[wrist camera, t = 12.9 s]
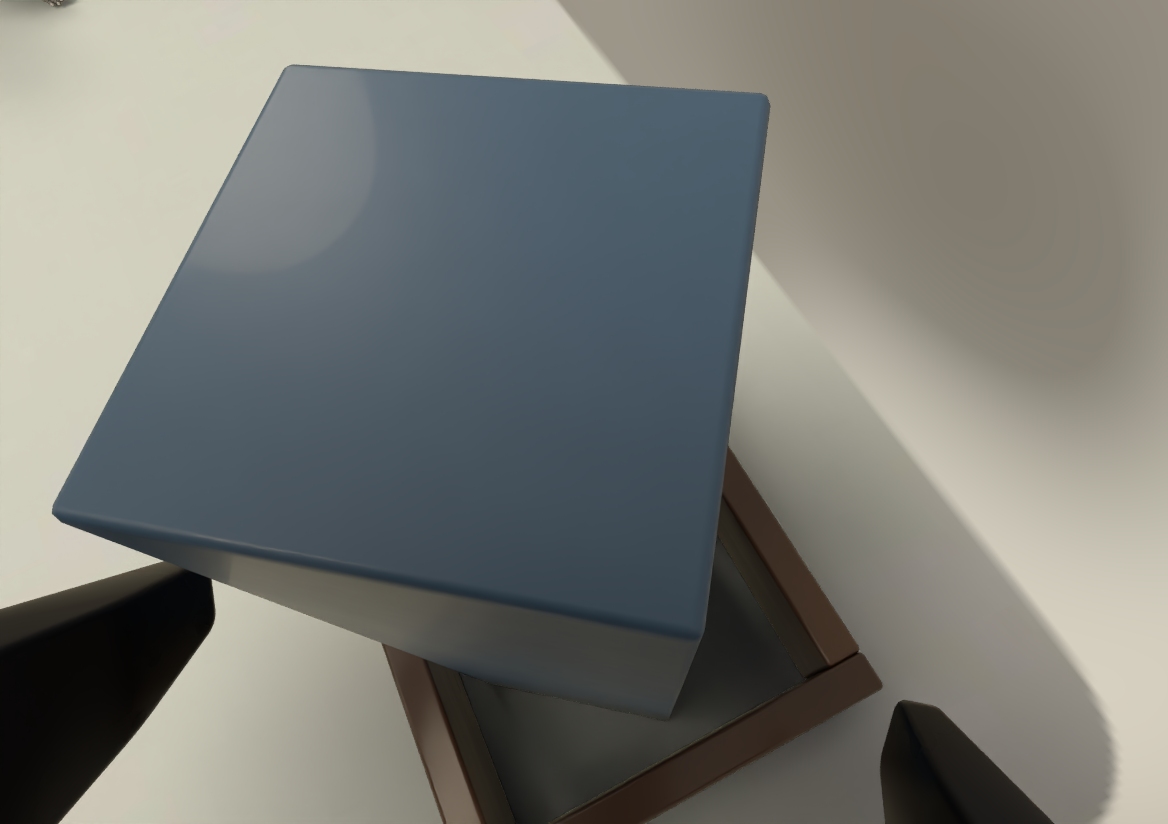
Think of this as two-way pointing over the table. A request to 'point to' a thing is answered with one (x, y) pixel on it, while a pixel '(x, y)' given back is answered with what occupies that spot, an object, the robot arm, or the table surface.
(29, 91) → the table surface
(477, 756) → the stand
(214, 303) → the peg
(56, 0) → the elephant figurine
